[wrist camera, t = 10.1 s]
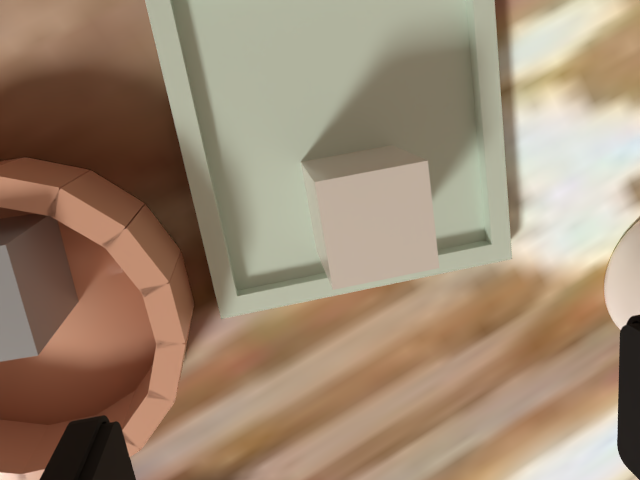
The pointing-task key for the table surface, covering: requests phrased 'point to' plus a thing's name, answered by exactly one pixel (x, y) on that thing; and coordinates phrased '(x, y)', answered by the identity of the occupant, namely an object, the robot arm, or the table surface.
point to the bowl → (95, 318)
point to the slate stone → (32, 284)
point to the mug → (624, 278)
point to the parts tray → (329, 126)
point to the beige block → (371, 215)
